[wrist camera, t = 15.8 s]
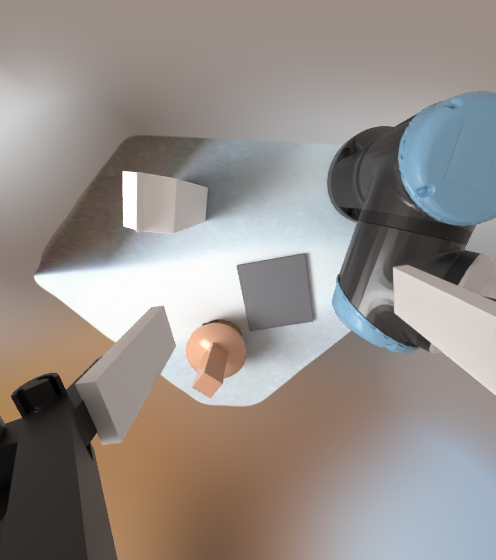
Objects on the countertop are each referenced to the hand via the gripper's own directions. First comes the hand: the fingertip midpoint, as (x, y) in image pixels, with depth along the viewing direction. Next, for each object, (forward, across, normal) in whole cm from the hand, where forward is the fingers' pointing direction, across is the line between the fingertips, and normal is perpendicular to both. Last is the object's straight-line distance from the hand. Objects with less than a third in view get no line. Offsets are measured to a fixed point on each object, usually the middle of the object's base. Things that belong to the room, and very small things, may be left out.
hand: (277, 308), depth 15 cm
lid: (+30, -13, -20) cm, 38 cm away
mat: (+35, 0, -12) cm, 37 cm away
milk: (+35, -12, +8) cm, 38 cm away
